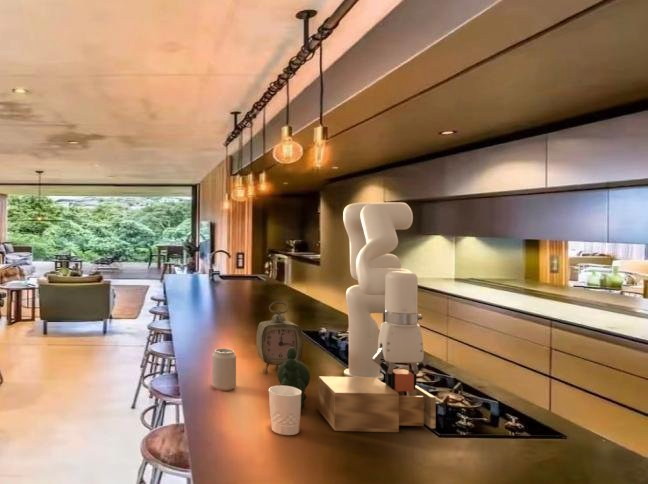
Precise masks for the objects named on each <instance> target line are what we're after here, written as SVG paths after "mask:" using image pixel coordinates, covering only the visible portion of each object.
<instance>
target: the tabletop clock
mask: <svg viewBox="0 0 648 484" xmlns="http://www.w3.org/2000/svg"><path fill="white" fill-rule="evenodd" d="M278 304H280V305H284V306H285V307H286V309H285V310H282V311H281V309H276V310H277V311H274V310H272V309H271V307H272V306H273V305H278ZM268 310H269V311H270V313H273V314H274V315H272V317H271V318H270V320H264V321H261V322H259V324H258V326H257V329H256V340H255V341H256V342H255V343H256V351H257V356H258V357H259V358H260V359H261V361H263V363H265V364H266V365H265V368H264V369H263V370H262V371H263V373H264V374H266V375H267V374H268V373H269V370H268V368H269V366H270V365H271V366H273V368H274V370H275V371H278V369H279V367H280V365H281V364H282V363H283V362H285V361H286V360H288V358H287V350H288V349H289V348H290V347H293V348H295V350H296V358H295V359H294V360H298V361H301V360H302V356H303V346H304V343H303V341H304V340H303V333H302V329H301V327H300V326H299V325H297V324H296V323H294V322H291V321H289V320H287V318H286V317H285V315H283V314H285V313H287V312H288V311H289V305H288V304H287V303H286V302H283V301H274V302H272V303H271V304H269V306H268Z"/></svg>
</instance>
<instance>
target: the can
mask: <svg viewBox="0 0 648 484" xmlns="http://www.w3.org/2000/svg"><path fill="white" fill-rule="evenodd" d="M211 356H212V358H211V359H212V362H211V363H212V365H211V367H212V368H211V369H212V372H211V373H212V375H211V376H212V377H211V378H212V379H211V380H212V382H211V383H212V386H213V387H214V389H216V390H218V391H226V392H227V391H232V390H234V389H235V388H236V387H237V355H236V354H235V351H234V350H233V349H231V348H216V349H214V352H213V353H212V355H211Z"/></svg>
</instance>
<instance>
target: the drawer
mask: <svg viewBox="0 0 648 484" xmlns="http://www.w3.org/2000/svg"><path fill="white" fill-rule="evenodd" d="M383 383H384V384H386V383H385V382H383ZM393 390H394V389H393ZM394 391H395V390H394ZM396 392H397V393H398V394H399V426H408V427H409V426H410V427H411V426H412V427H415V426H416V427H424V426H425V425H426V426H427V427H428V428H430V429H436V428H437V427H436V422H437V421H436V420H437V419H436V414H437V413H436V412H437V411H436V409H437V408H436V406H439V407H440V408H445V407H446V405H447V404H446V402H445V401H443V400H442V399H440V398H439V397H437V396H435V395H433V394H431V393H429V392H428V391H427V390H426V389H423V388H422V387H420V386H419V385H417V384H416V386H415V390H414V392H410V391H406V395H405V391H396Z"/></svg>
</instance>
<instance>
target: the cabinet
mask: <svg viewBox="0 0 648 484" xmlns="http://www.w3.org/2000/svg"><path fill="white" fill-rule="evenodd" d="M384 383H385V382H383V380H381V381H380V380H379V379H377V378H376V377H346V376H320V375H319V376H318V412H319V413H320V414H321V416H322V418H324V419H325V421H326V422H327V423H328V424H329V426H330V427H331V428H332V429H333V431H335V432H367V433H368V432H371V433H373V432H374V433H399V432H400V425H399V394H398V393H397V392H396V391H394V390H393V389H391V388H390V387H389V386H387V385H386V384H384Z"/></svg>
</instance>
